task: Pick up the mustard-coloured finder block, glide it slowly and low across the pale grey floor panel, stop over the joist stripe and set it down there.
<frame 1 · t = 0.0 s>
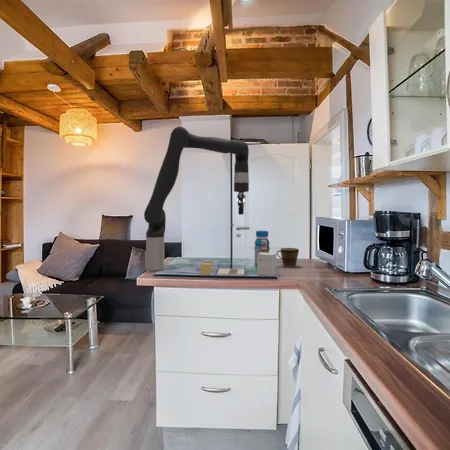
hand: (241, 214, 153), 29 cm above the worktop, tool pointing down, fingers open, 8 cm apart
finder block: (206, 272, 152), on the worktop
ceramic cup: (287, 267, 167), on the worktop
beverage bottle: (261, 267, 167), on the worktop
small box: (266, 275, 147), on the worktop
floor panel: (231, 272, 150), on the worktop
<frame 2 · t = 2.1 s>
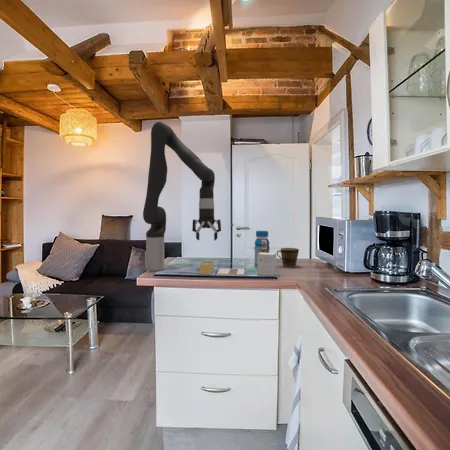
hand: (206, 240, 151), 16 cm above the worktop, tool pointing down, fingers open, 8 cm apart
nothing on the worktop moved.
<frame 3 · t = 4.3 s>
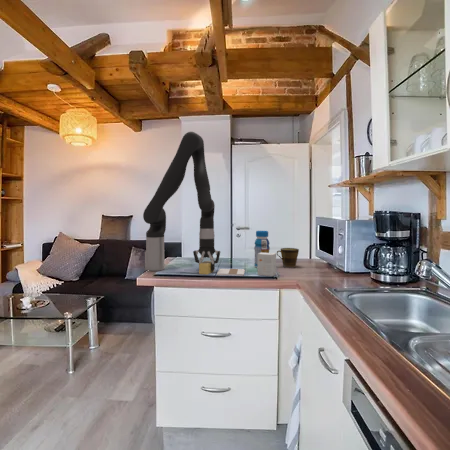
hand: (206, 270, 152), 1 cm above the worktop, tool pointing down, fingers closed on finder block, 5 cm apart
finder block: (206, 272, 152), on the worktop, touching gripper
everything else where it was.
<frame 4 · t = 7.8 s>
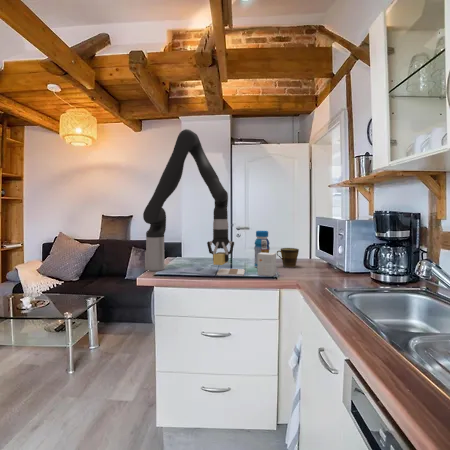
hand: (220, 261, 151), 5 cm above the worktop, tool pointing down, fingers closed on finder block, 5 cm apart
finder block: (220, 263, 150), point 5 cm above the worktop, touching gripper
everything else where it was.
when the fingers open (2 cm above the worktop, at t = 11.5 s): finder block stays where it is, resting on floor panel.
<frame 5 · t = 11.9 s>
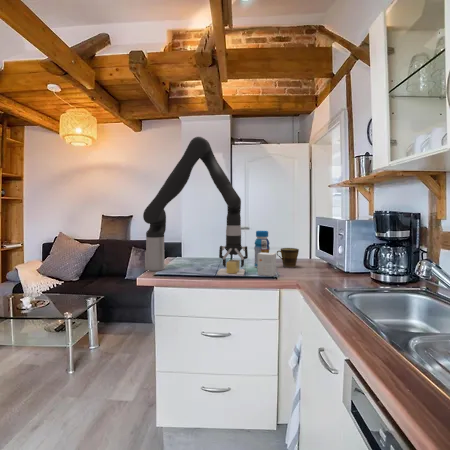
hand: (233, 266, 150), 3 cm above the worktop, tool pointing down, fingers open, 8 cm apart
finder block: (233, 271, 150), point 1 cm above the worktop, touching floor panel
everything else where it was.
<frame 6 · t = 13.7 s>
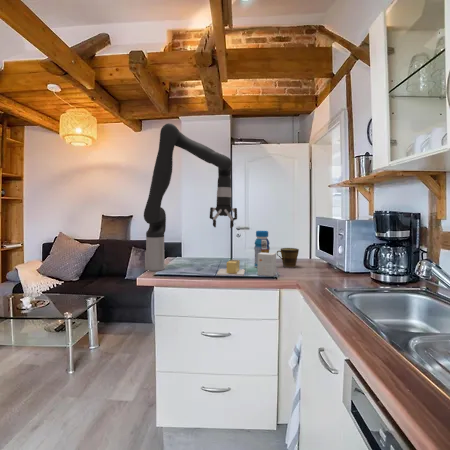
hand: (223, 227, 156), 22 cm above the worktop, tool pointing down, fingers open, 8 cm apart
nothing on the worktop moved.
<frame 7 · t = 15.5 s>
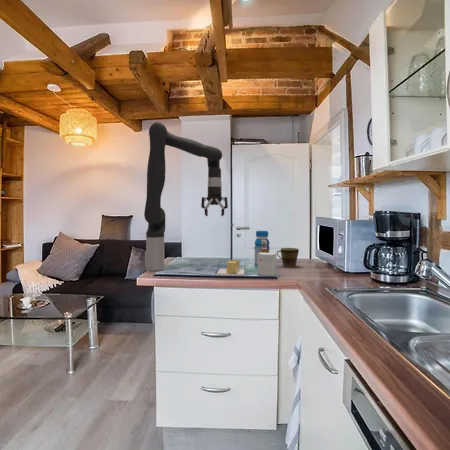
hand: (214, 216, 164), 28 cm above the worktop, tool pointing down, fingers open, 8 cm apart
nothing on the worktop moved.
at the end: finder block 0.1 cm from the target spot on the floor panel, point 0.9 cm above the floor panel's base; finder block tilted 0°; the gripper is holding nothing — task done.
